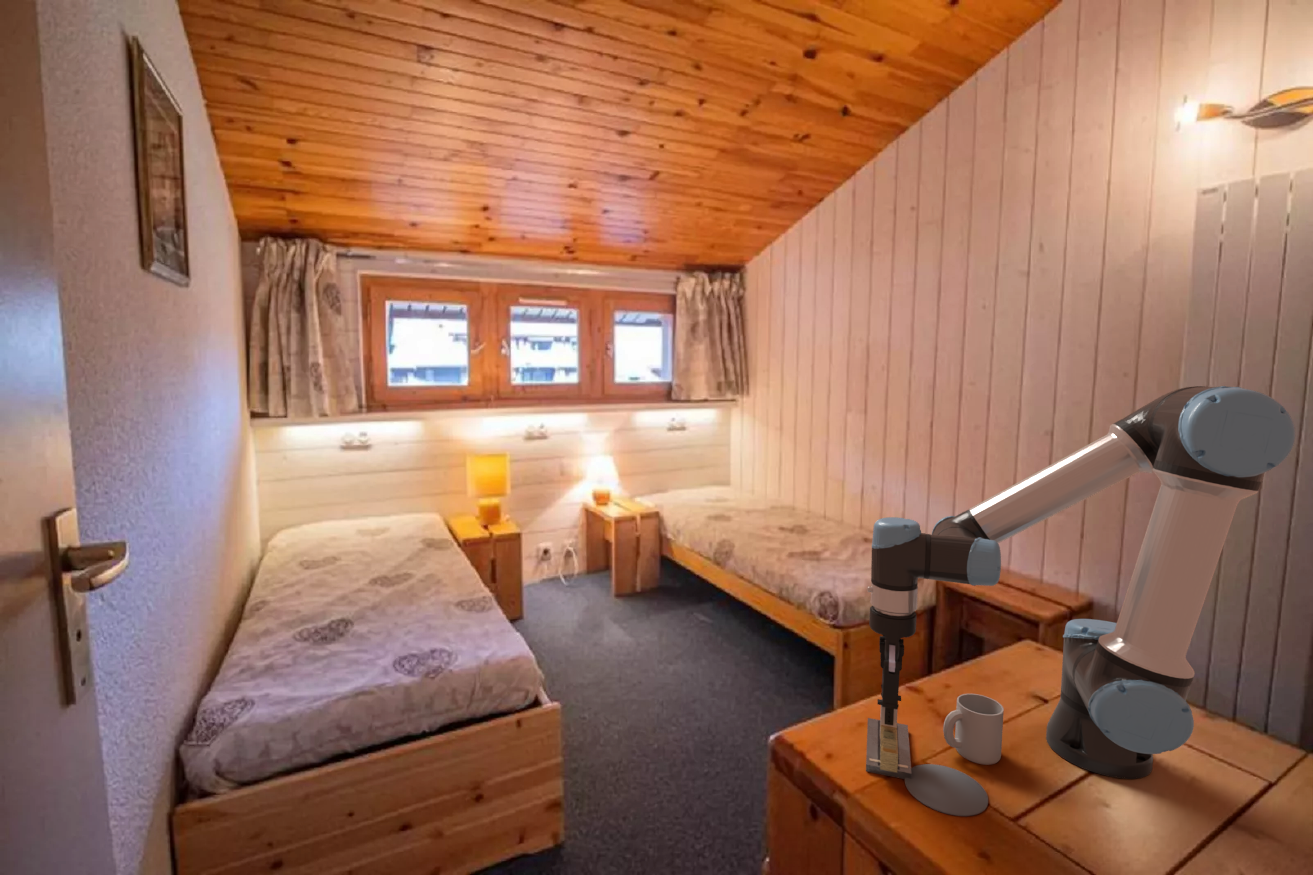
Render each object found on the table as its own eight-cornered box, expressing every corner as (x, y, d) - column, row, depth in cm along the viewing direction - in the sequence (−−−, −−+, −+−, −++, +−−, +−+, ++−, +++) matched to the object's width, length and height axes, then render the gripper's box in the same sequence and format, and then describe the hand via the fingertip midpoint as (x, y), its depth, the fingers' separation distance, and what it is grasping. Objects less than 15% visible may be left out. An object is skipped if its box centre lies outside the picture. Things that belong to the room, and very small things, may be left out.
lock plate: (907, 731, 114) (907, 724, 114) (911, 780, 100) (911, 773, 100) (867, 723, 116) (867, 717, 116) (865, 771, 102) (866, 763, 102)
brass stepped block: (896, 745, 107) (897, 716, 106) (897, 772, 99) (898, 742, 99) (880, 742, 108) (881, 714, 107) (880, 769, 100) (881, 739, 100)
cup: (1010, 764, 104) (1013, 714, 103) (954, 768, 103) (957, 717, 102) (983, 739, 111) (986, 692, 110) (931, 742, 110) (933, 695, 109)
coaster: (981, 775, 101) (981, 773, 101) (994, 824, 90) (994, 822, 90) (903, 759, 105) (903, 758, 105) (906, 805, 94) (906, 803, 94)
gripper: (870, 593, 113) (866, 715, 115) (869, 619, 101) (864, 754, 103) (914, 598, 110) (909, 722, 113) (918, 625, 98) (912, 764, 100)
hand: (887, 737), depth 108 cm, fingers closed
